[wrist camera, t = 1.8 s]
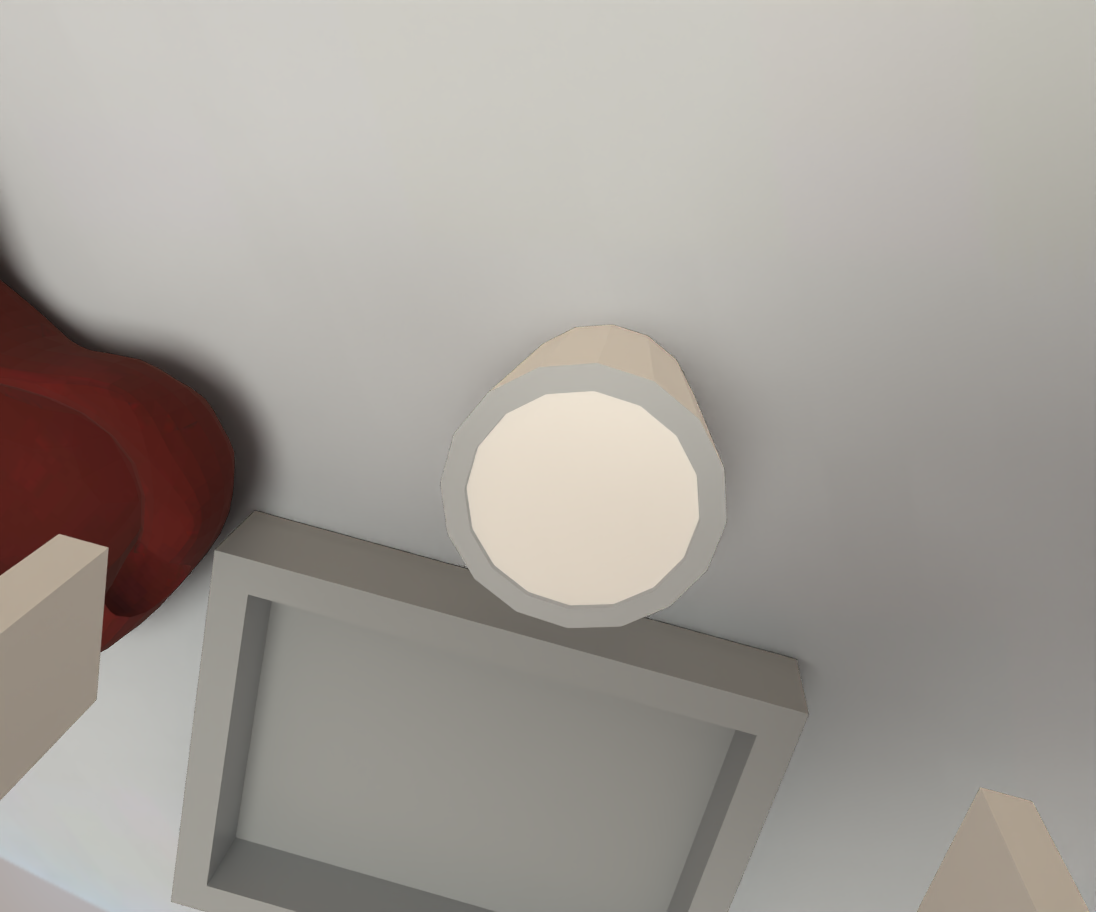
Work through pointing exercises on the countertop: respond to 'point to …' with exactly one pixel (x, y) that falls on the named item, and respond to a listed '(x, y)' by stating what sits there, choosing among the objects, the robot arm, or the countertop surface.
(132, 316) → the countertop surface
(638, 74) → the countertop surface
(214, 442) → the ashtray
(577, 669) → the tray
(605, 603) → the white cup
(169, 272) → the countertop surface
